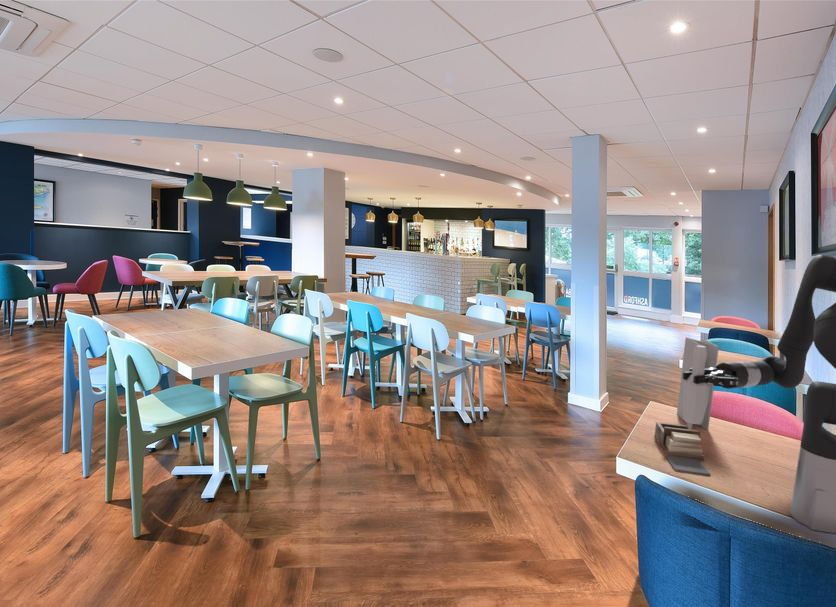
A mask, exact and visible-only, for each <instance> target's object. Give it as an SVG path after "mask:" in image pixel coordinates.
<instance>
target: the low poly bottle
mask: <svg viewBox="0 0 836 607" xmlns="http://www.w3.org/2000/svg"><path fill="white" fill-rule="evenodd" d="M707 355H708V354H707V350H706V347H705V346H699V345H697V346H696V347H695V350H694V352H693V369H692V374H691V375H690V376H689V377H688V379H687V380H685V381H684V386H683V419H684V421H685V422H688V423H692V424H693V425H697V424H701V423H702V422H703V418H704V414H705V411H706V407H707V403H708V400H709V391H710V384H707V383H700V384H695V383H693V379H694V376H696V375H704V370H705V363H706V359H707ZM683 419H682V420H683ZM684 421H683V422H684Z"/></svg>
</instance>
